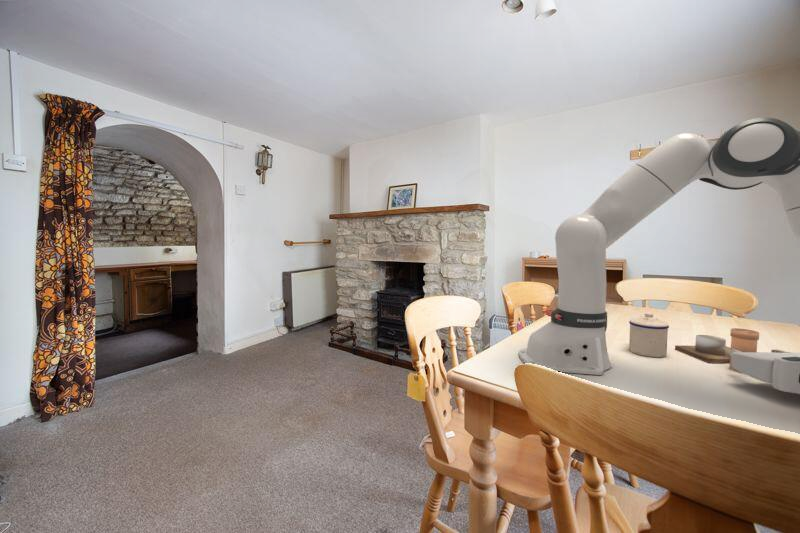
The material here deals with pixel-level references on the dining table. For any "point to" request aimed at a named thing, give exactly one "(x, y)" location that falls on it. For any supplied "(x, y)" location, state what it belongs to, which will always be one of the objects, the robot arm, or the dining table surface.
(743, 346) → the peach lidded canister
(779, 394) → the dining table surface
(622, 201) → the robot arm
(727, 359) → the stud board
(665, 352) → the teacup with lid
